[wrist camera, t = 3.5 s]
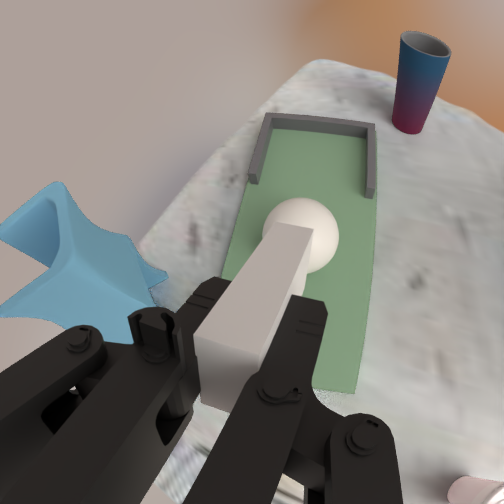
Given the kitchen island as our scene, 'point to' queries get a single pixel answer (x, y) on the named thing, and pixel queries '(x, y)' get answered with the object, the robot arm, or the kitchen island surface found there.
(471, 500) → the smoothie
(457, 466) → the kitchen island surface
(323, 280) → the mat
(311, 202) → the ball
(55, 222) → the vase
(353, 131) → the grey u-shaped wall
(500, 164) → the kitchen island surface
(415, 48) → the cup
